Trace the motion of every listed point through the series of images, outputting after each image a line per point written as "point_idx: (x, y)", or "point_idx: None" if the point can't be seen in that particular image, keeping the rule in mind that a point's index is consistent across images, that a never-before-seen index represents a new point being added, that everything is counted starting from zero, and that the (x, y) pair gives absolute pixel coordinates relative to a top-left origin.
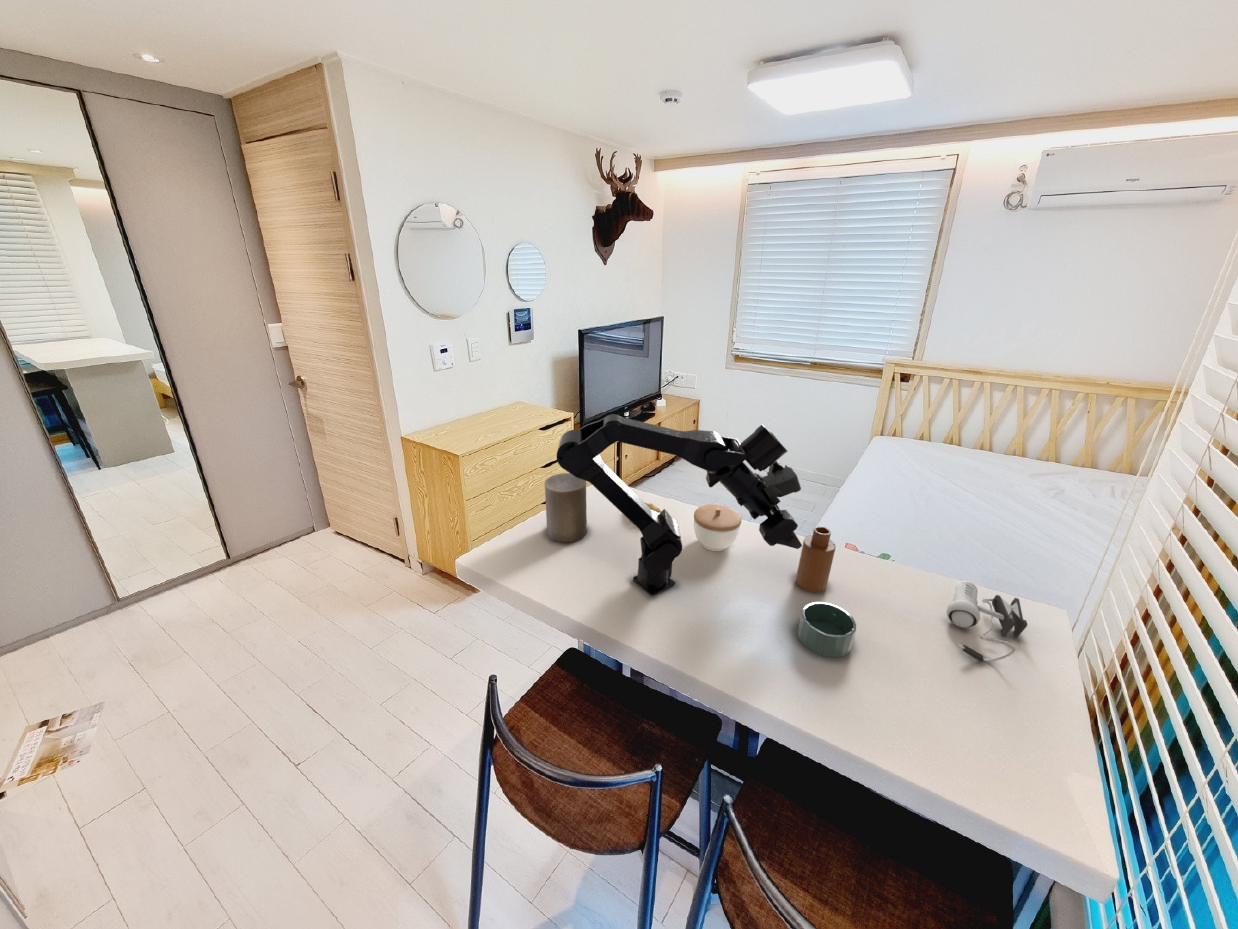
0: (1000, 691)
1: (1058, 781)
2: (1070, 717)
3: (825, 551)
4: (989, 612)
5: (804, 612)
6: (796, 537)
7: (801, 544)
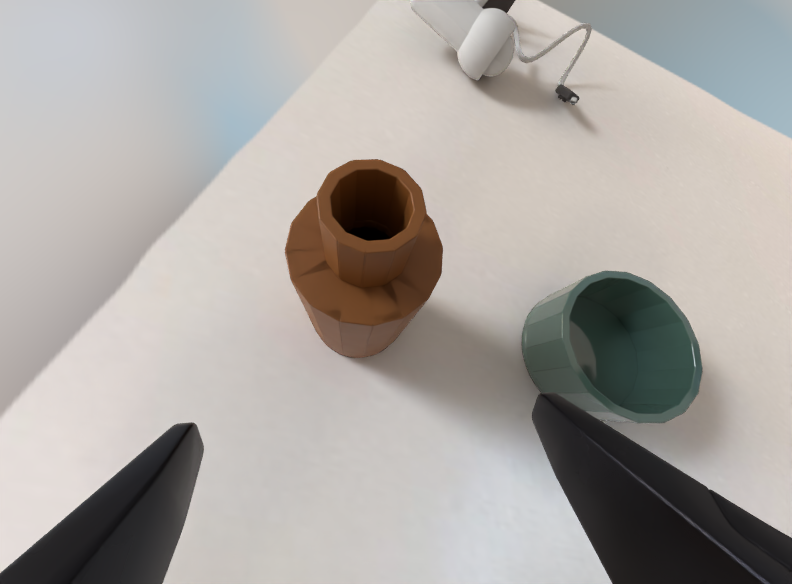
0: (618, 107)
1: (744, 135)
2: (636, 60)
3: (439, 247)
4: (480, 4)
5: (629, 410)
6: (691, 483)
7: (566, 400)
